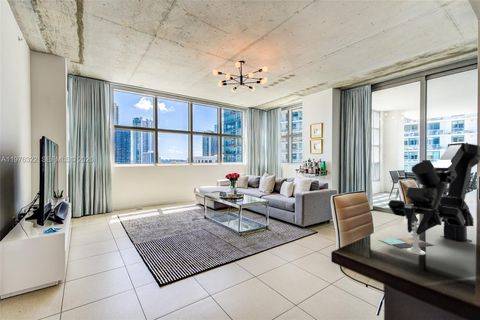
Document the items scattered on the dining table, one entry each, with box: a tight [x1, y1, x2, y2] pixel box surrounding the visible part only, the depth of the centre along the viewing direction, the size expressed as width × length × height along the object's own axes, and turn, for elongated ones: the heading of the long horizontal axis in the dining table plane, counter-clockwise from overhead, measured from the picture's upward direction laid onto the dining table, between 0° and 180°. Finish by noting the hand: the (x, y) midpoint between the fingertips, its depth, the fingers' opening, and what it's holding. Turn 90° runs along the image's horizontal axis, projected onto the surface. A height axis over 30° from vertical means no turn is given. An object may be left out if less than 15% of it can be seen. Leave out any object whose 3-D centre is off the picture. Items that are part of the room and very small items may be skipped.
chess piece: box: [405, 221, 426, 256], centre depth 70 cm, size 5×5×10 cm
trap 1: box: [392, 244, 413, 249], centre depth 74 cm, size 6×3×1 cm, turn 102°
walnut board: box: [378, 237, 437, 250], centre depth 78 cm, size 15×8×1 cm, turn 102°
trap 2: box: [411, 241, 434, 248], centre depth 76 cm, size 6×3×1 cm, turn 102°
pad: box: [379, 238, 407, 246], centre depth 79 cm, size 7×5×1 cm
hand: (413, 232), depth 69 cm, fingers closed on chess piece
